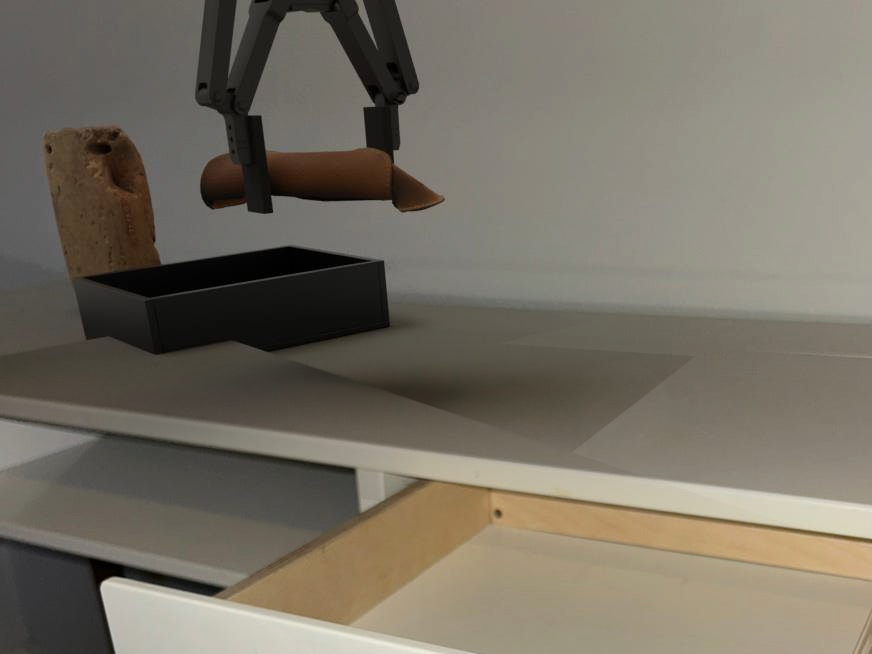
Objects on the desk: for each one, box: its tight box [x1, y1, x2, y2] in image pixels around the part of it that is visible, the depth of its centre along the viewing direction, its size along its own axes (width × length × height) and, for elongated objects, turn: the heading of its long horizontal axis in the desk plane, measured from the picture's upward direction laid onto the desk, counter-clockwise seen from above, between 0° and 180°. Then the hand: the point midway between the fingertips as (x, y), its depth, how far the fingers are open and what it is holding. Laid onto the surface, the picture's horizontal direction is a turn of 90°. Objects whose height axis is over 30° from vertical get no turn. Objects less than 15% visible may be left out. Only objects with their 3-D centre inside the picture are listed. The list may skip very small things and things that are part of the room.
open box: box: [72, 244, 391, 356], centre depth 111 cm, size 26×20×7 cm
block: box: [42, 124, 162, 291], centre depth 123 cm, size 11×8×20 cm
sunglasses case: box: [199, 147, 446, 214], centre depth 82 cm, size 18×7×7 cm, turn 62°
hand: (324, 204), depth 83 cm, fingers closed on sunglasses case, 10 cm apart
